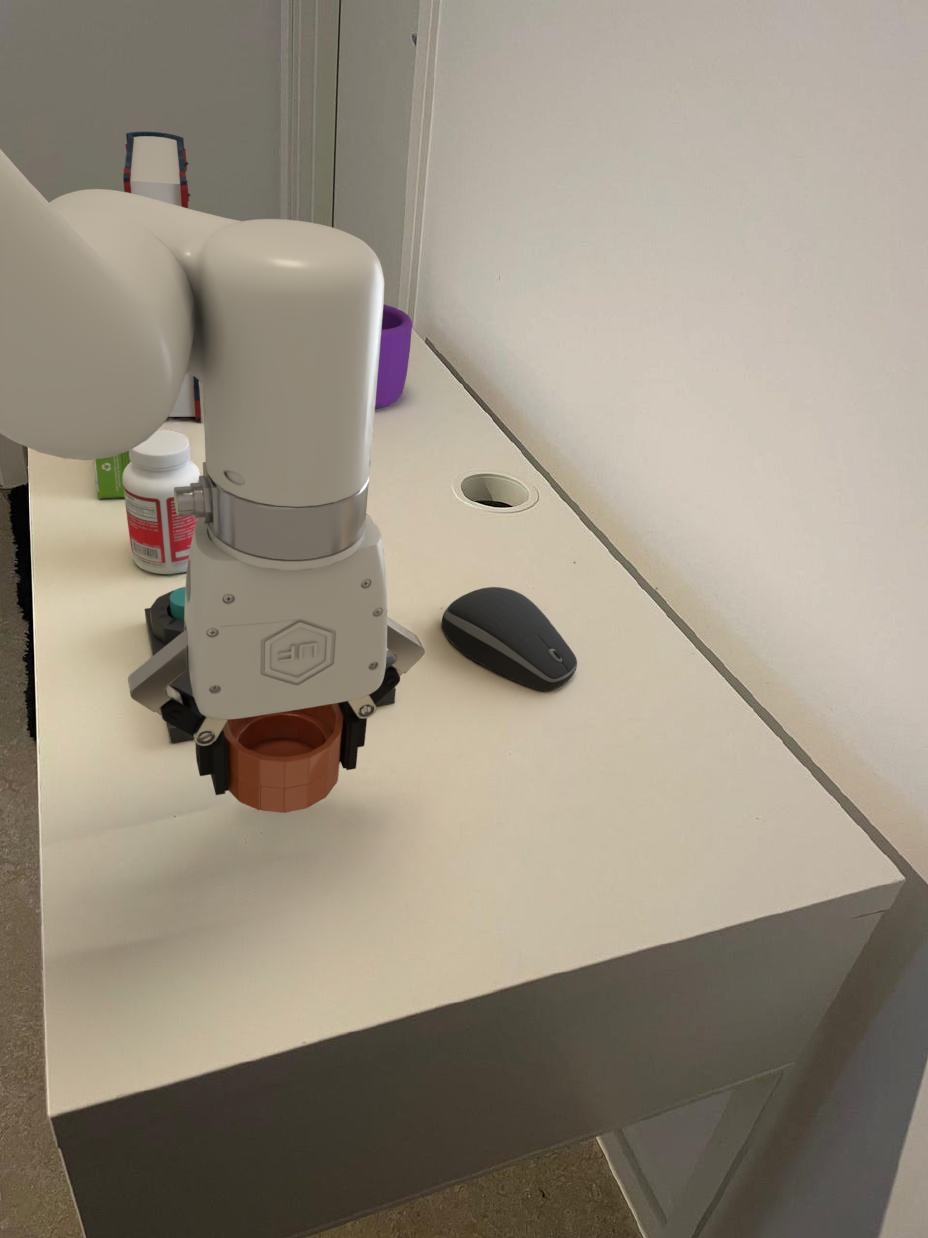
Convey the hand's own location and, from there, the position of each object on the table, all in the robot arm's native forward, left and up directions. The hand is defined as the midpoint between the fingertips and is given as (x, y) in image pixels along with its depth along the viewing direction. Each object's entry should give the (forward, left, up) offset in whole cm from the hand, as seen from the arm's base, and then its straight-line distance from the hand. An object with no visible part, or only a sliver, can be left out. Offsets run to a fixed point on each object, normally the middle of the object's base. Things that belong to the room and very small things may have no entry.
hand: (281, 763), depth 54 cm
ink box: (-5, +48, -6) cm, 48 cm away
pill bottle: (-3, +32, -6) cm, 32 cm away
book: (+3, +71, -6) cm, 72 cm away
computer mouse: (+21, +13, -6) cm, 26 cm away
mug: (+24, +67, -6) cm, 71 cm away
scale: (+2, +16, -5) cm, 17 cm away
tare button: (-3, +20, -3) cm, 20 cm away
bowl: (0, 0, -1) cm, 1 cm away
